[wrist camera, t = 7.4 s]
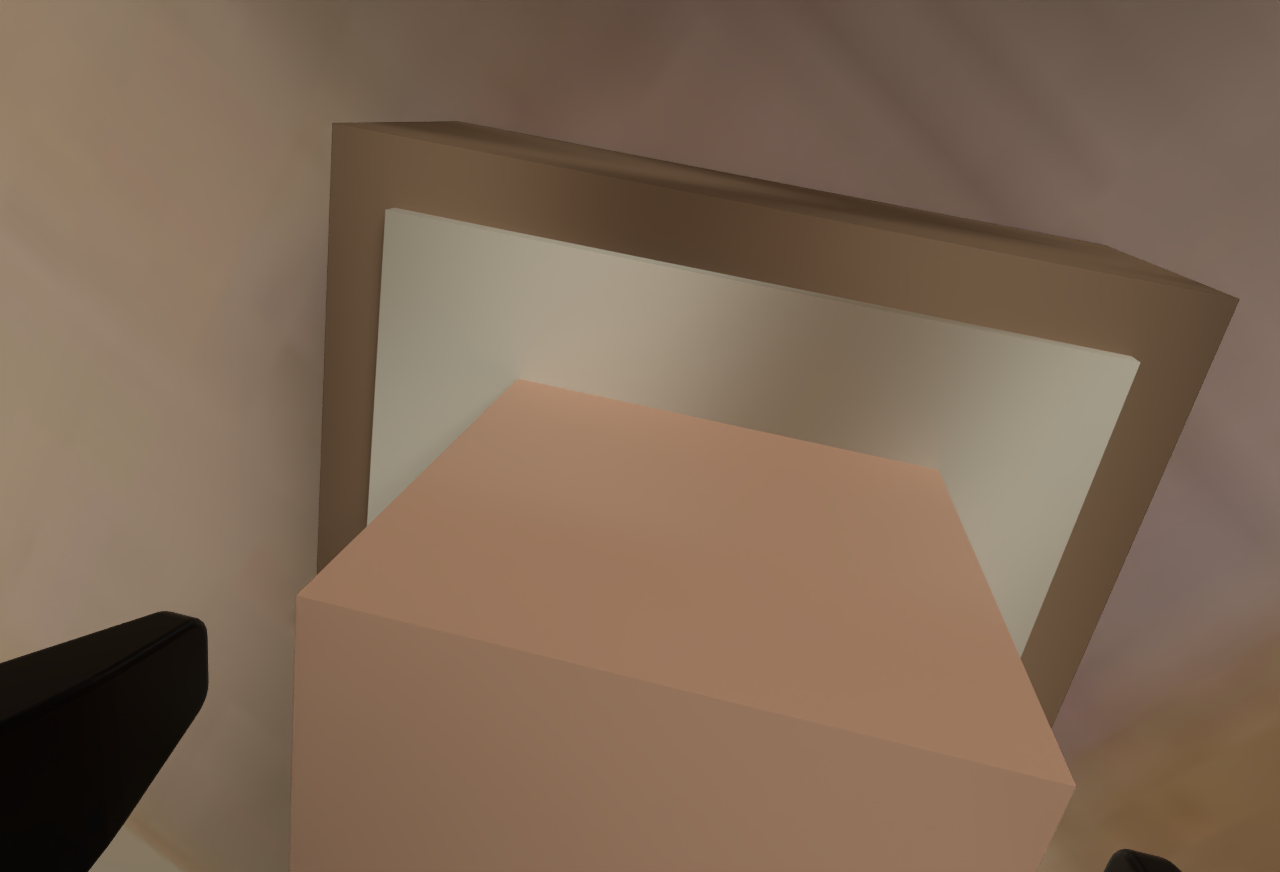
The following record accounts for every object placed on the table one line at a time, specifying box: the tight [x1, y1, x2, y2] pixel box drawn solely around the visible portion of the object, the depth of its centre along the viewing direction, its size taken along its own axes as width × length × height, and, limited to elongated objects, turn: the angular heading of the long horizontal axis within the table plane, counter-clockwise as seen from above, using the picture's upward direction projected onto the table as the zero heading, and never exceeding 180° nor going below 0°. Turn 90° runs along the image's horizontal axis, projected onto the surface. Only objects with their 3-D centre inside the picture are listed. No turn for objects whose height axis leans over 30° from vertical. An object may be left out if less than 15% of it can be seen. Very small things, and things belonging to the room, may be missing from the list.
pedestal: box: [317, 121, 1240, 728], centre depth 13 cm, size 10×10×4 cm
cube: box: [289, 379, 1076, 872], centre depth 9 cm, size 5×5×5 cm
